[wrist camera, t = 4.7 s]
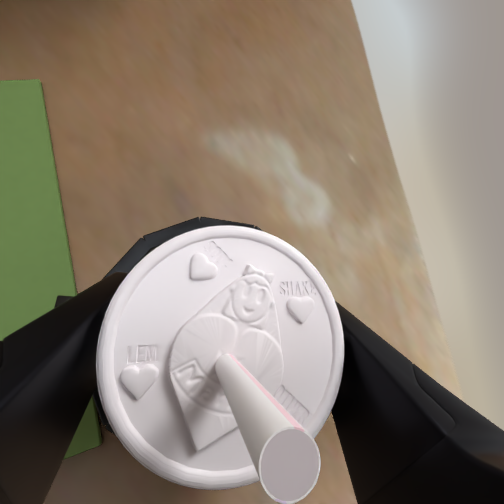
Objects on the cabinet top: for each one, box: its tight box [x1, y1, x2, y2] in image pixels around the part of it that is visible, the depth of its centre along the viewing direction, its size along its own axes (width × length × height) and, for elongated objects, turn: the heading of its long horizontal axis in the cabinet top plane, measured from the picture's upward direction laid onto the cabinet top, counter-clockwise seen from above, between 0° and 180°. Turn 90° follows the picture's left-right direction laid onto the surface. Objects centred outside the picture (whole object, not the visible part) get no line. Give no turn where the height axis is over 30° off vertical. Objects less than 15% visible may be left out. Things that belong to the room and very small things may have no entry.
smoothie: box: [96, 225, 344, 504], centre depth 9 cm, size 6×6×14 cm
